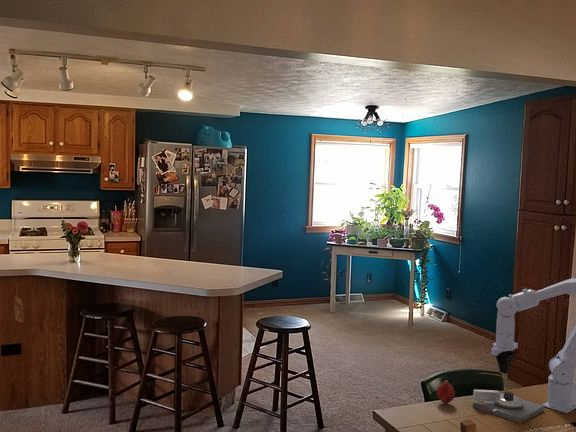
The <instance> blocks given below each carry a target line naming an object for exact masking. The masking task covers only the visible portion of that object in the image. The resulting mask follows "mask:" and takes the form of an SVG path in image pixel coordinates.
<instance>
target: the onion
mask: <svg viewBox="0 0 576 432" xmlns="http://www.w3.org/2000/svg"><path fill="white" fill-rule="evenodd" d="M436 396H437V398H438V400H440V401H441V402H442V403H443V404H444V405H448V404H450V402H452V401H453V400H454V399H455V397H456V391H455V389H454V387H453V385H451V383H449V381H448V380H444V382H442V383H441V384H439V386H438V387H437V389H436Z"/></svg>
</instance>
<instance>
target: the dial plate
mask: <svg viewBox="0 0 576 432" xmlns="http://www.w3.org/2000/svg"><path fill="white" fill-rule="evenodd" d="M500 394H504V392H500ZM521 399H522V398H521ZM522 400H523V407H522V408H520V409H508V408H504V407H500V406H498V405H496V404H495V403H494V401H475V400H474V401H473V402H472V408H474V409H477V410H480V411H483V412H486V413H489V414H492V415H495V416H498V417H501V418H505V419H507V420H508V421H512V422H515V423H519V424H521V423H523V422H525V421H527V420H529V419H530V418H532V417H534V416H536V415H539V414H540V413H542V412H544V411H545V406H543V405H542V404H540V403H536V402H532V401H529V400H525V399H522Z"/></svg>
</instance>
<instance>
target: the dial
mask: <svg viewBox="0 0 576 432" xmlns="http://www.w3.org/2000/svg"><path fill="white" fill-rule="evenodd" d="M472 391H473V393H472V395H473V396H472V399H473V400H474V402H475V401H494V403H495V404H496V405H498V406H500V407H504V408H508V409H520V408H522V407H523V400H524V399H523V400H522V398H521V397H519V396H517V395H514V392H512V391H508V390H507V391H506V390H505V391H503V393H504V394H500V393H501V392H500V391H499V390H493V389H491V390H489V389H473V390H472Z"/></svg>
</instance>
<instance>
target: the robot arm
mask: <svg viewBox="0 0 576 432" xmlns="http://www.w3.org/2000/svg"><path fill="white" fill-rule="evenodd" d="M564 294H566V295H570V296H575V297H576V277H572V278H569V279H565V280H563V281H560V282H558V283H557V282H556V283H554V284H552V285H549V286H547V287H545V288H542V289H538V290H534V289H527V288H524V289H522V291H520V292H518V293H515V294H508V296H503V297H500V298H499V299H498V300H497V302H496V304H495V305H496V309H497V314H496V317H497V318H496V327H495V328H496V329H495V342H494V343H492V346H493V347H492V348H491V349H490V355H491V356H495V358H496V361H497V363H498V365H497V366H498V368H499V372H500V373H502V374H505V375H506V374H509V373H508V372H509V369H510V367H511V363H512V361H513V359H514V357H515V356H516V351H515V349H516V350H517V349H519V348H518V344H519V343H518V342H515V329H516V327H515V326H516V323H515V322H516V321H515V314H516V313H517V312H522V311H525V310H528V309H531V308H534V307H537V306H539V303H540V302H541V301H544V300H546V299H547V300H548V299H550V298H554V297H555V298H556V297H558V296H561V295H564ZM548 369H549V371H550V372H551V373H550V374H549V376H548V381H547V382H548V383H547V386H548V387H547V401H546V402H544V403H543V404H541V405H543V406H544V408H548V409H551V410H555V411H558V412H562V413H564V414H569V413H570V412H572V411H575V409H576V383H575V381H574V377H575V369H576V325H574V327H573V329H572V331H571V332H570V335H569V336H568V339H567V340H566V342H565V344H564V346H563V347H562V349H561V350H559V351H558V353H557V354H556V355H555V356H554V357H552V358H551V359H550V360H549V362H548Z"/></svg>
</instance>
